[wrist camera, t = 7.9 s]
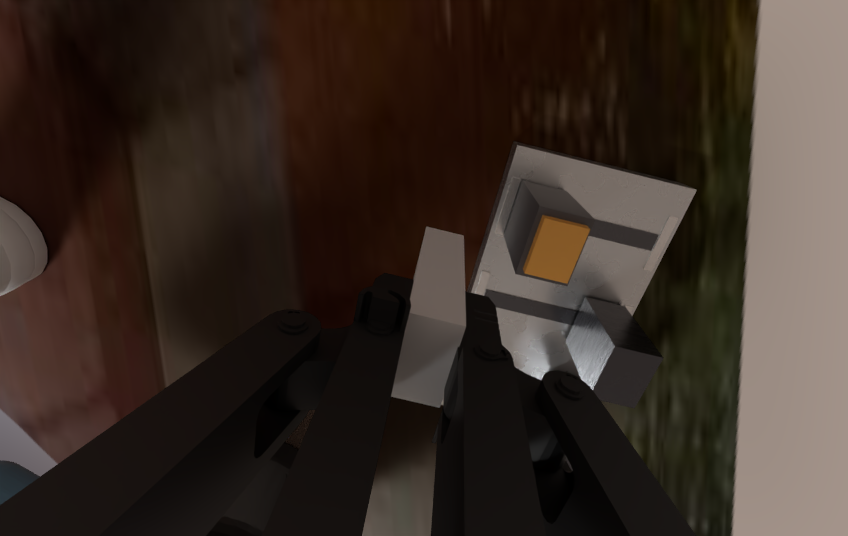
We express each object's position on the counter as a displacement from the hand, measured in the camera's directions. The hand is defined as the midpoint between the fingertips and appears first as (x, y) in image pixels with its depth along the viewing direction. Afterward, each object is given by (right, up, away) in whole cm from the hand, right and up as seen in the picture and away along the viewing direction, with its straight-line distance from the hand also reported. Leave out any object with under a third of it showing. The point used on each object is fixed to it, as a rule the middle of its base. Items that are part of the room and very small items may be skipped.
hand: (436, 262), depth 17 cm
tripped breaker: (+7, +3, +11) cm, 14 cm away
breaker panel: (+9, -3, +17) cm, 19 cm away
